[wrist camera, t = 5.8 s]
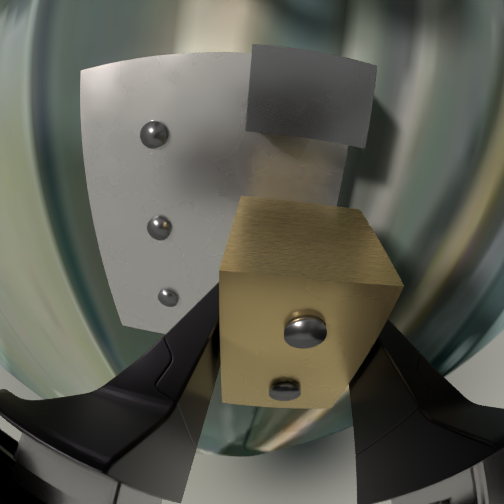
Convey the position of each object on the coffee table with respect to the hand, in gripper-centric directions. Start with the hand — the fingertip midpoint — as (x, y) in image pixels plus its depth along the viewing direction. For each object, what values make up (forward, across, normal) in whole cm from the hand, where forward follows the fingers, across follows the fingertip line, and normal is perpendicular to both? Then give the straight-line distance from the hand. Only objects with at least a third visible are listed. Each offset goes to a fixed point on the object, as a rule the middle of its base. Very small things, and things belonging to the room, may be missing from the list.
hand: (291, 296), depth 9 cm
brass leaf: (+1, 0, 0) cm, 1 cm away
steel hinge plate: (+5, +4, 0) cm, 6 cm away
